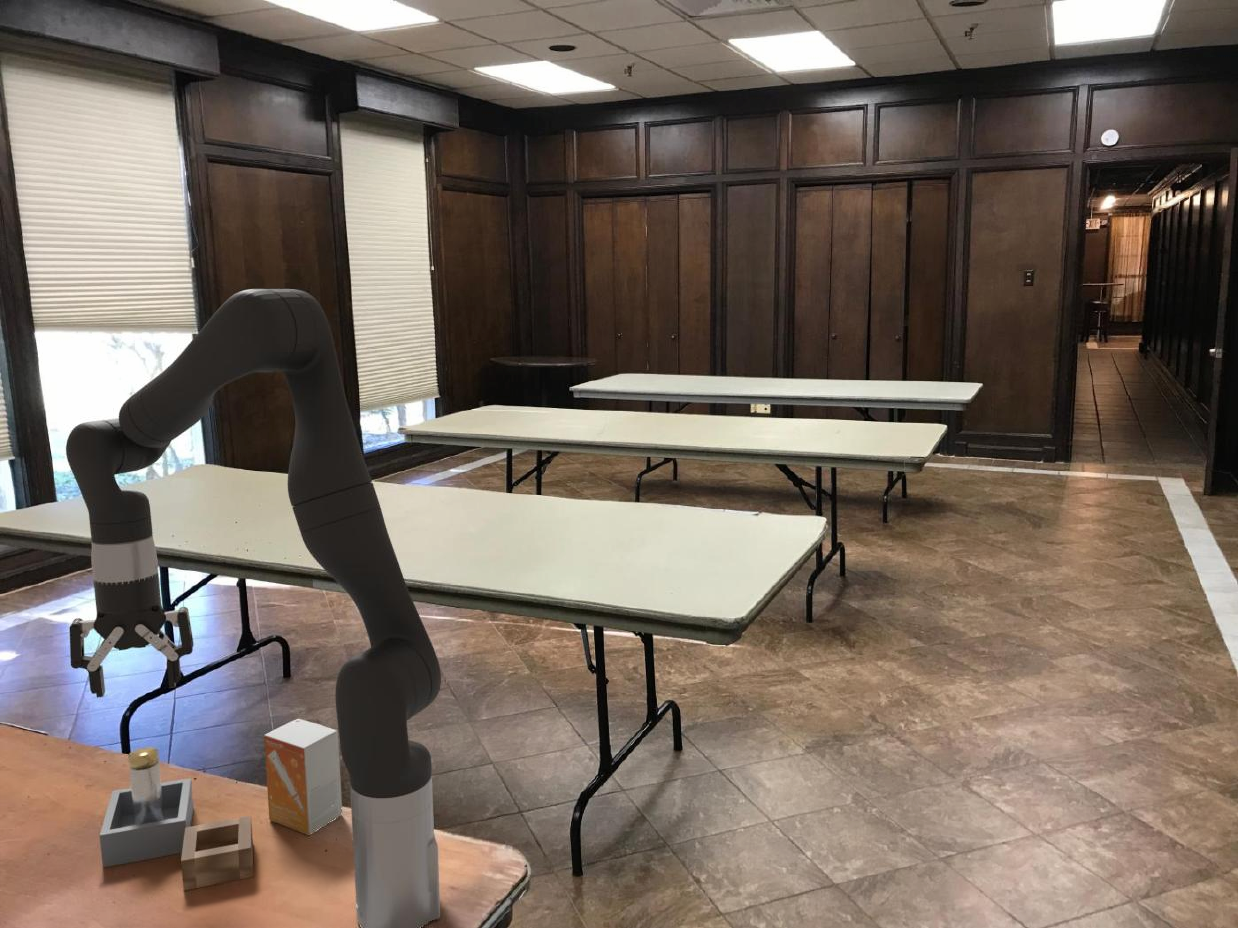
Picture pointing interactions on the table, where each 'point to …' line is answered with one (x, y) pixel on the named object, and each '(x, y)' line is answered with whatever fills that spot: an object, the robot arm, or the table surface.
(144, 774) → the gold lid glass jar
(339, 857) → the table surface
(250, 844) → the collar
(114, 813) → the tray
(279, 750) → the small box
